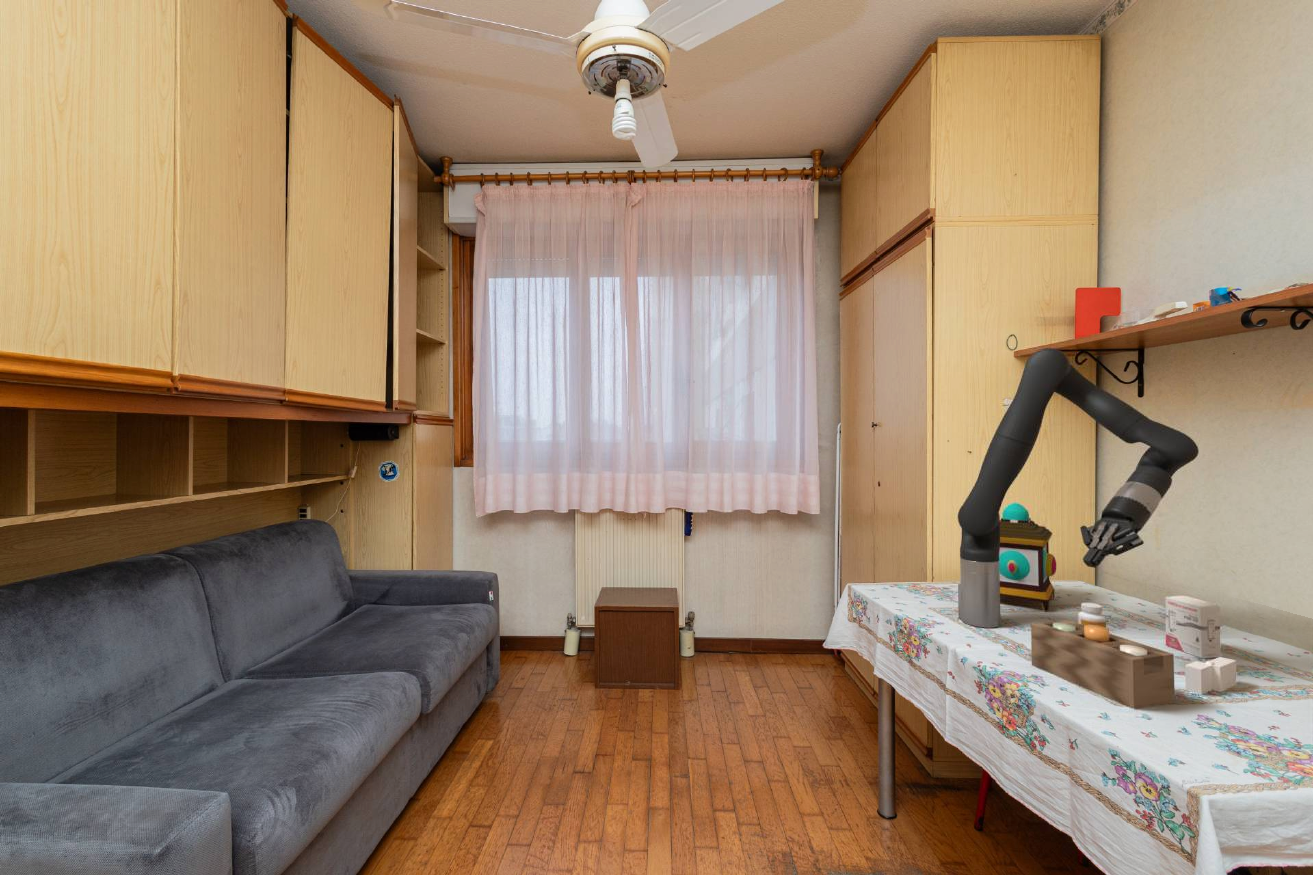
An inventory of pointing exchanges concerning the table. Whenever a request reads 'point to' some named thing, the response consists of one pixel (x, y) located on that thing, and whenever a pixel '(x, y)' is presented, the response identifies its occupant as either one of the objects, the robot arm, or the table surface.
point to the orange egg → (1096, 633)
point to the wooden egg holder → (1104, 665)
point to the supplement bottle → (1091, 615)
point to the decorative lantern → (1025, 557)
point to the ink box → (1193, 626)
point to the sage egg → (1064, 626)
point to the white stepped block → (1210, 675)
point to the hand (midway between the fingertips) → (1088, 564)
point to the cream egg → (1133, 650)
